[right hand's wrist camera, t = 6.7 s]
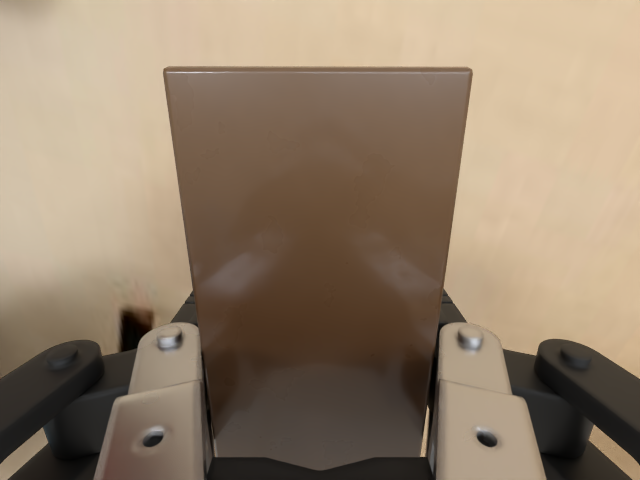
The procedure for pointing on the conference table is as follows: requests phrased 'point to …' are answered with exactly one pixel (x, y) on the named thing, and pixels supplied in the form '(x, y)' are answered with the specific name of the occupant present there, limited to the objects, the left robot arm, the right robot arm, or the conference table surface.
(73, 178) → the conference table surface
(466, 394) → the right robot arm
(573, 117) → the conference table surface
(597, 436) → the conference table surface
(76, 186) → the conference table surface
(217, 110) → the post
